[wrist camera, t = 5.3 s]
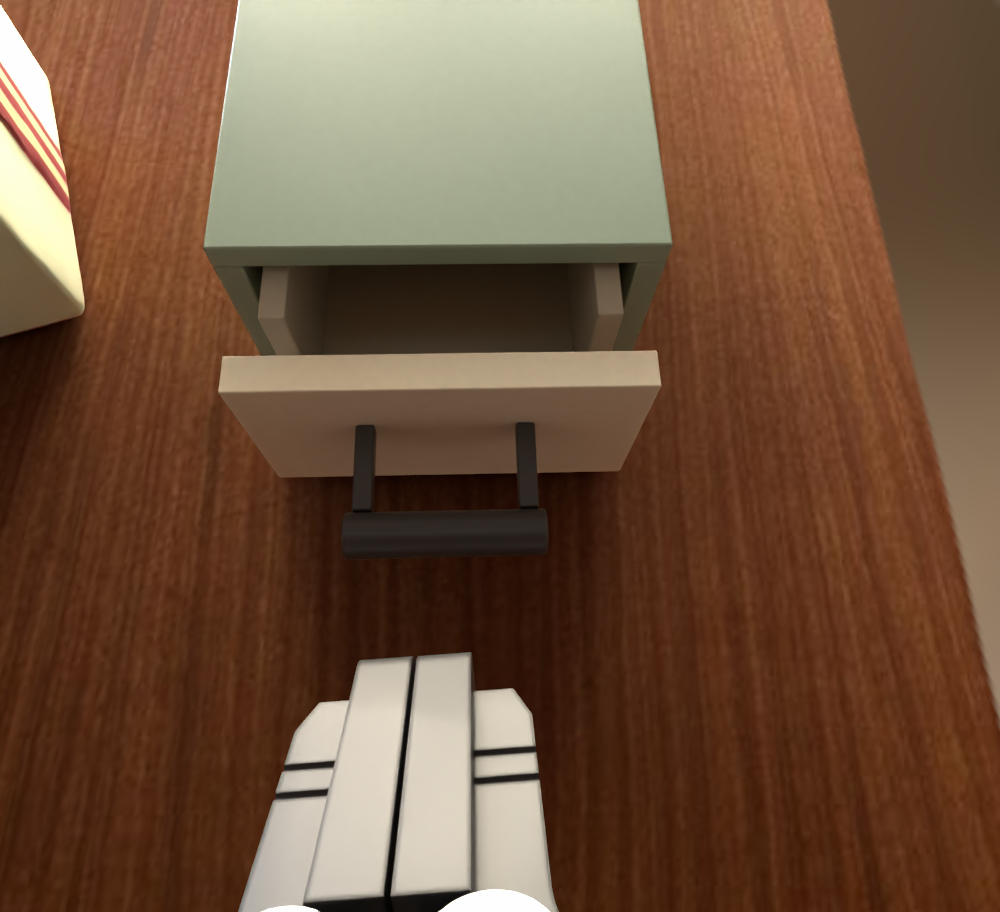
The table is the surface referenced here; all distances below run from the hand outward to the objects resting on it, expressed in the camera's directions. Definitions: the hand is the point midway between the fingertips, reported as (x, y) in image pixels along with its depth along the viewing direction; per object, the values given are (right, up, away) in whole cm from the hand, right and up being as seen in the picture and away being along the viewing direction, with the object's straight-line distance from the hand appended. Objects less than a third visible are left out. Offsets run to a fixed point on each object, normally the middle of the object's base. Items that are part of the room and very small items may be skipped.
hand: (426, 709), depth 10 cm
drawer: (-1, +8, +20) cm, 22 cm away
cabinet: (-1, +15, +23) cm, 27 cm away
